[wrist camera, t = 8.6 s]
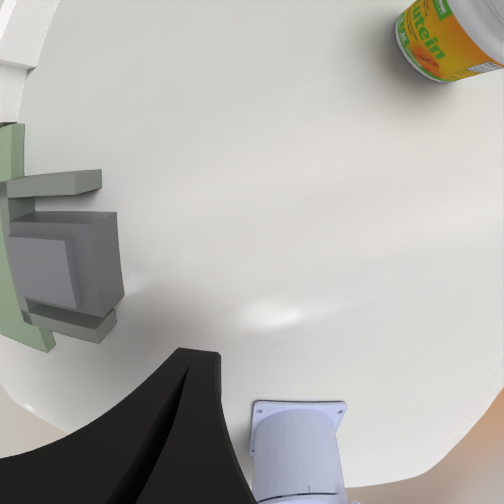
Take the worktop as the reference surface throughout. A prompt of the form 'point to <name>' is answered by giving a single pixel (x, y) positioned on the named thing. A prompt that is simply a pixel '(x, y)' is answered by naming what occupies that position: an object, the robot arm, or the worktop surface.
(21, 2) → the white stepped block
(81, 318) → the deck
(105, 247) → the dark grey block
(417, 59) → the supplement bottle
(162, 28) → the worktop surface
